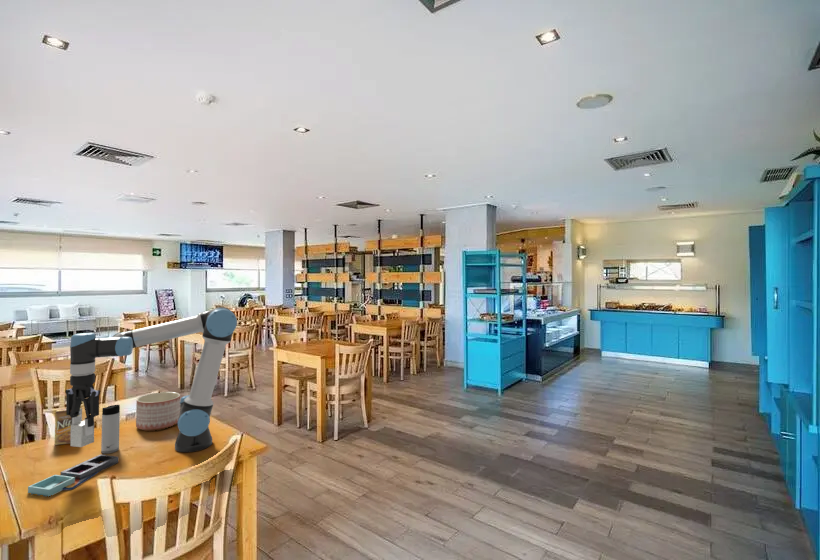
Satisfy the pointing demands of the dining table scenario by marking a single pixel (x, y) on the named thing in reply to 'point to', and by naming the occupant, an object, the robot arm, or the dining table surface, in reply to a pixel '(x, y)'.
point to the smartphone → (77, 482)
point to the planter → (157, 411)
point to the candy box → (63, 426)
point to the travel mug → (110, 429)
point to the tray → (51, 485)
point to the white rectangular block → (80, 435)
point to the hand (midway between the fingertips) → (82, 434)
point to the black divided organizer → (90, 466)
